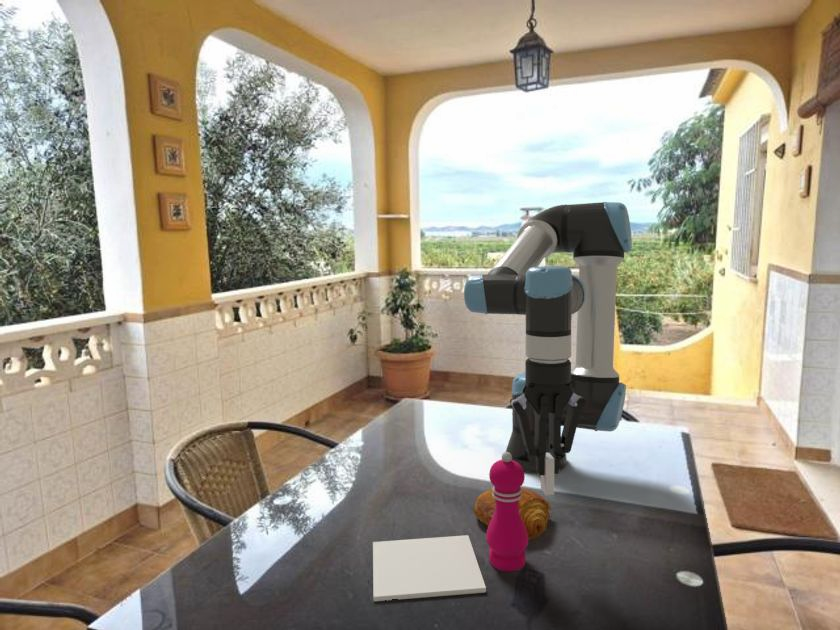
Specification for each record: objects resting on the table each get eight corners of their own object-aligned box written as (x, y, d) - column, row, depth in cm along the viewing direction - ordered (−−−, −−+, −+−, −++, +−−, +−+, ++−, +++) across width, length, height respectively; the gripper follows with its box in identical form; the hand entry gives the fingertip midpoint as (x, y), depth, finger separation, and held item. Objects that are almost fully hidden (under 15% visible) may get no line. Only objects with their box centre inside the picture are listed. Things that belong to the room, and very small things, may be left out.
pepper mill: (482, 551, 99) (481, 445, 96) (521, 548, 100) (521, 443, 97) (491, 575, 92) (490, 461, 89) (533, 571, 92) (533, 459, 90)
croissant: (510, 561, 100) (514, 523, 98) (461, 515, 112) (463, 481, 110) (567, 535, 107) (571, 500, 105) (514, 495, 120) (517, 463, 118)
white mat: (468, 539, 103) (468, 535, 103) (486, 592, 87) (485, 587, 87) (373, 546, 102) (372, 542, 101) (373, 601, 86) (373, 596, 86)
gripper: (576, 352, 96) (575, 480, 99) (504, 355, 95) (505, 484, 98) (594, 361, 89) (592, 498, 92) (516, 365, 87) (516, 504, 90)
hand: (547, 491), depth 95 cm, fingers closed
